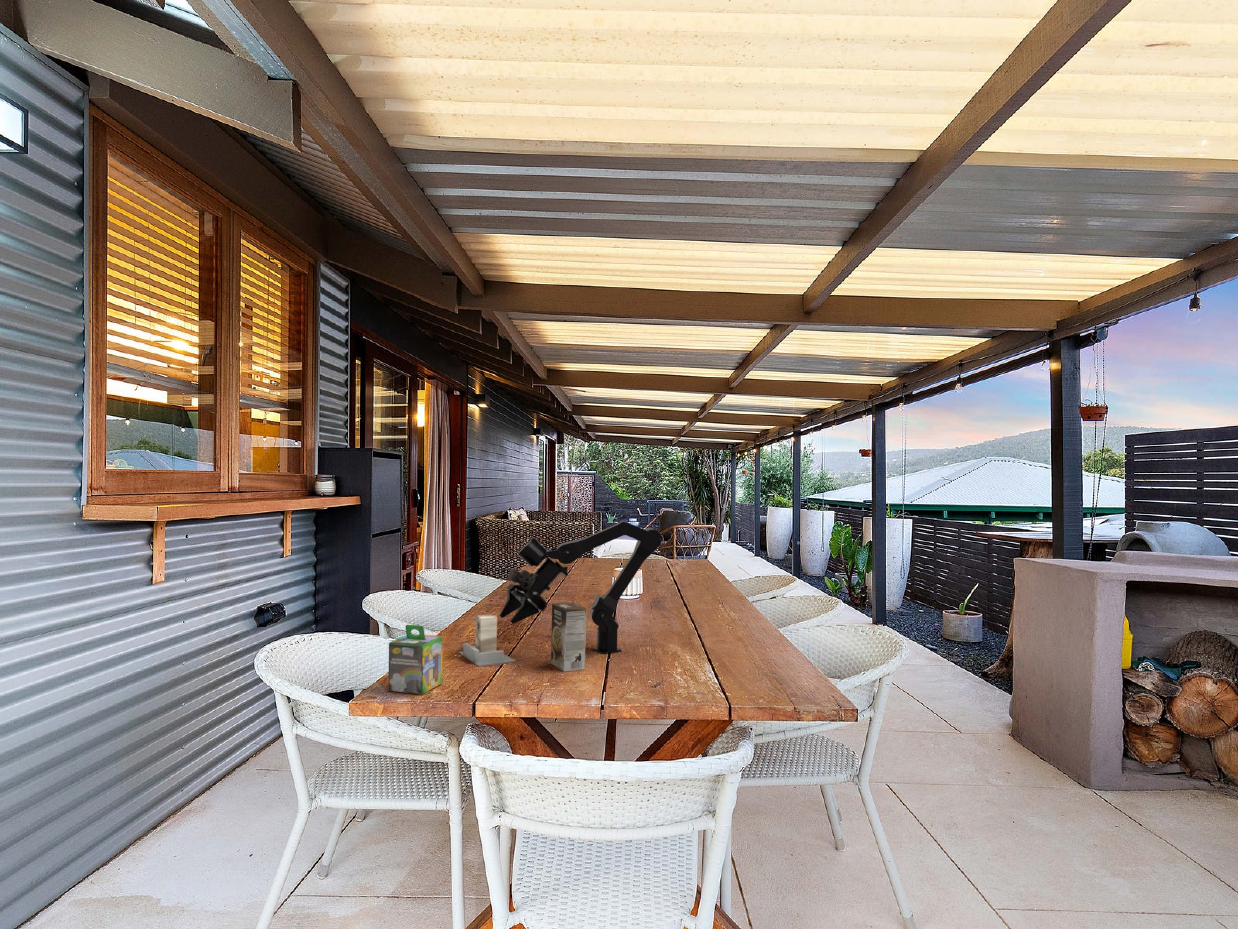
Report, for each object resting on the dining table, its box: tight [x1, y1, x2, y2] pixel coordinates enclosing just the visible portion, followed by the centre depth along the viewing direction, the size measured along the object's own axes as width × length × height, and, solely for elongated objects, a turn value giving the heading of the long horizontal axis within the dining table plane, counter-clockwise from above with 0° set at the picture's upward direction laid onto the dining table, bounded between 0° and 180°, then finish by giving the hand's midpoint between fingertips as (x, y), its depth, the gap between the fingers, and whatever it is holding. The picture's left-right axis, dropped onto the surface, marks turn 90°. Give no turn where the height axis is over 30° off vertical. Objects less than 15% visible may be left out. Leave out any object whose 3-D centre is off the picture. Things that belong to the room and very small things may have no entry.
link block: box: [474, 613, 498, 653], centre depth 187 cm, size 4×5×11 cm
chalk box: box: [388, 624, 443, 696], centre depth 158 cm, size 9×9×15 cm
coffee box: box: [550, 602, 587, 673], centre depth 179 cm, size 9×6×16 cm
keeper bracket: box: [459, 642, 516, 668], centre depth 187 cm, size 16×10×4 cm, turn 31°
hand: (506, 619), depth 189 cm, fingers open, 9 cm apart
